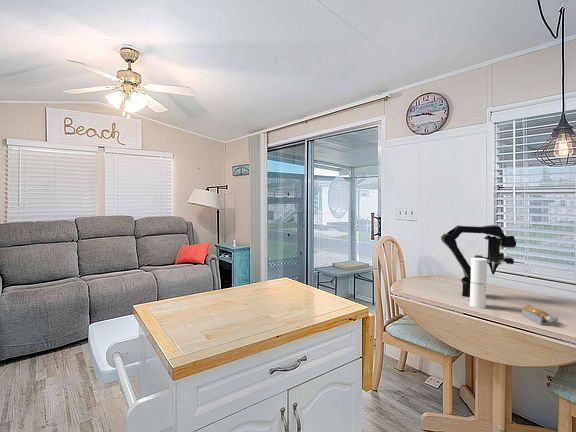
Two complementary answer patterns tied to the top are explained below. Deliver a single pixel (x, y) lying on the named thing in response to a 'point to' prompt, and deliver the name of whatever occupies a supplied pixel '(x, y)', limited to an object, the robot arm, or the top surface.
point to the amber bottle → (539, 313)
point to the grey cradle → (538, 318)
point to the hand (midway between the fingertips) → (493, 274)
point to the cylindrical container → (478, 282)
